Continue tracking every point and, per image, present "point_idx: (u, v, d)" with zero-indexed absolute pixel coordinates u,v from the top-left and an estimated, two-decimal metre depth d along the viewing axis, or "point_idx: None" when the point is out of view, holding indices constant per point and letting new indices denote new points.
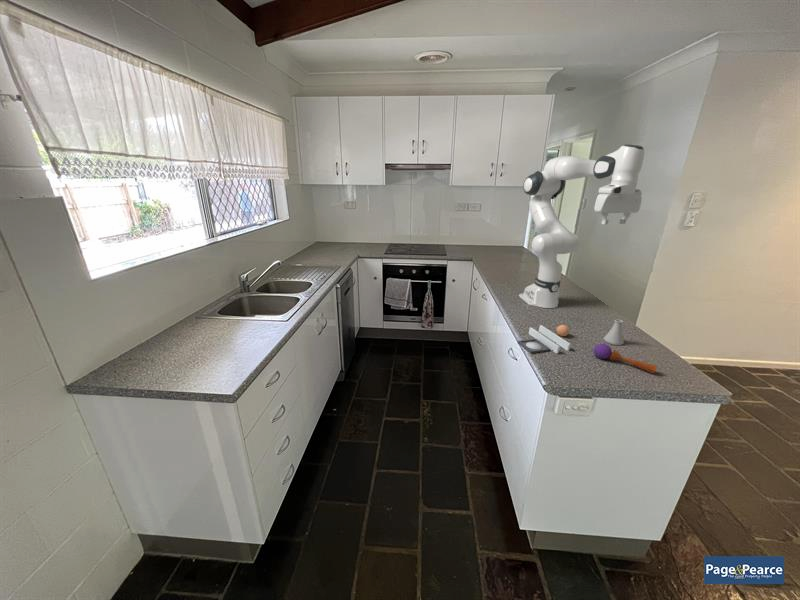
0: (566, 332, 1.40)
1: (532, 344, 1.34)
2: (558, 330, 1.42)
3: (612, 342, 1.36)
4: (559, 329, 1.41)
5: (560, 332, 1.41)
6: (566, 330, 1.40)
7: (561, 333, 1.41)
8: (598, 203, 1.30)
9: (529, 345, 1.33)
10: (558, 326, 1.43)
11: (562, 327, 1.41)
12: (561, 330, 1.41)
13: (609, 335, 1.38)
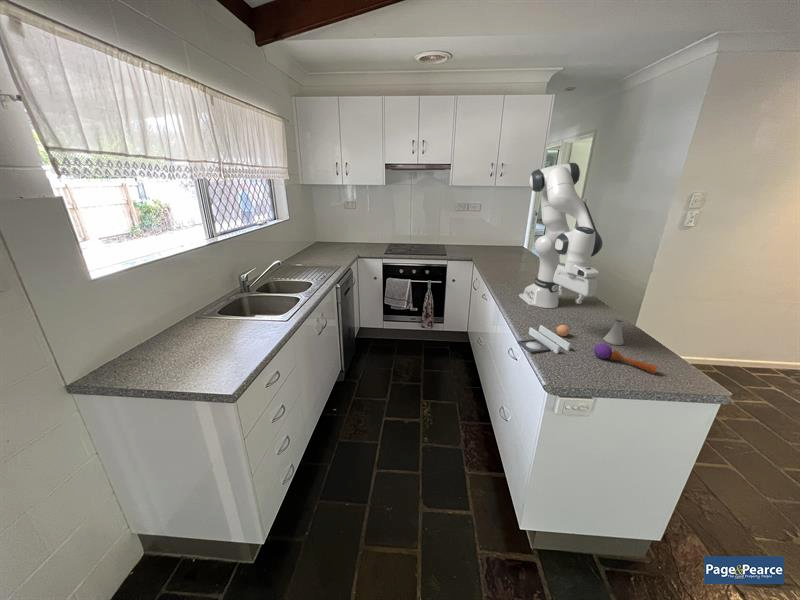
0: (566, 332, 1.40)
1: (532, 344, 1.34)
2: (558, 330, 1.42)
3: (612, 342, 1.36)
4: (559, 329, 1.41)
5: (560, 332, 1.41)
6: (566, 330, 1.40)
7: (561, 333, 1.41)
8: (591, 288, 1.25)
9: (529, 345, 1.33)
10: (558, 326, 1.43)
11: (562, 327, 1.41)
12: (561, 330, 1.41)
13: (609, 335, 1.38)
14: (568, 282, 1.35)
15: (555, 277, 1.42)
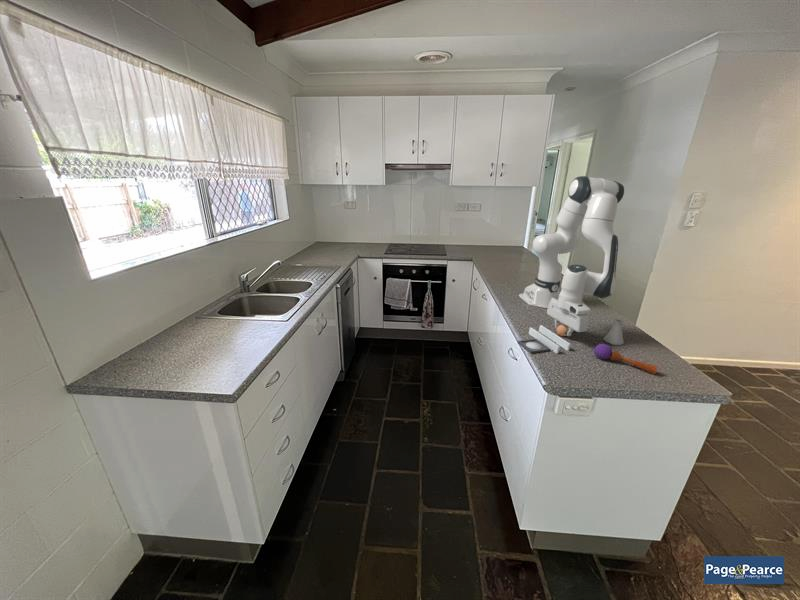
0: None
1: (532, 344, 1.34)
2: (558, 330, 1.42)
3: (612, 342, 1.36)
4: (559, 329, 1.41)
5: (560, 332, 1.41)
6: (566, 330, 1.40)
7: (561, 333, 1.41)
8: (583, 325, 1.31)
9: (529, 345, 1.33)
10: (558, 326, 1.43)
11: (562, 327, 1.41)
12: (561, 330, 1.41)
13: (609, 335, 1.38)
14: (561, 316, 1.40)
15: (549, 309, 1.47)
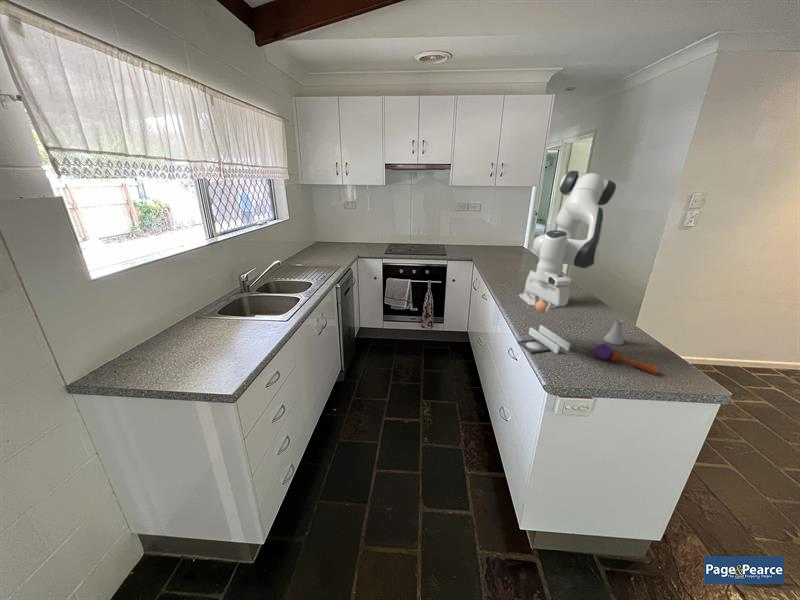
0: None
1: (532, 344, 1.34)
2: (537, 306, 1.26)
3: (612, 342, 1.36)
4: (538, 305, 1.25)
5: (539, 308, 1.25)
6: (546, 306, 1.24)
7: (540, 309, 1.25)
8: (563, 298, 1.15)
9: (529, 345, 1.33)
10: (537, 302, 1.27)
11: (541, 302, 1.25)
12: (540, 306, 1.25)
13: (609, 335, 1.38)
14: (540, 290, 1.25)
15: (527, 284, 1.31)
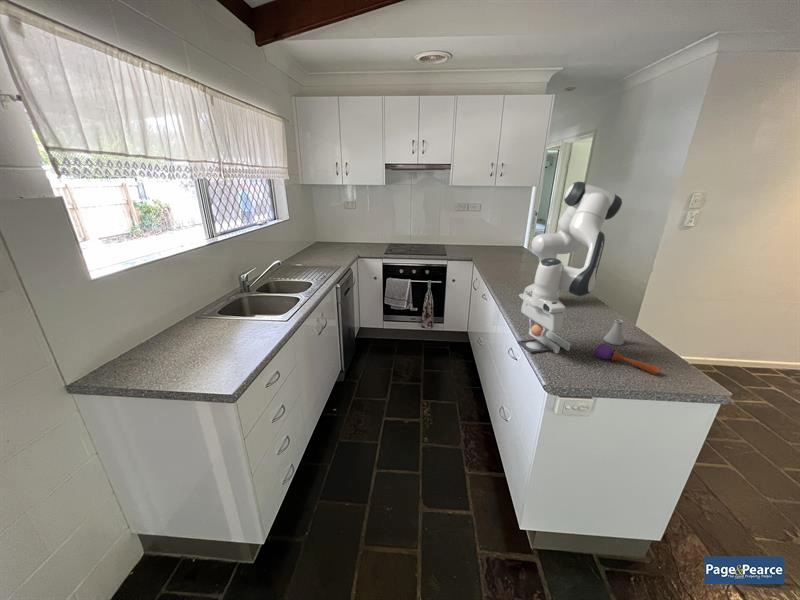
0: None
1: (532, 344, 1.34)
2: (532, 330, 1.29)
3: (612, 342, 1.36)
4: (533, 329, 1.29)
5: (534, 332, 1.29)
6: (541, 330, 1.28)
7: (535, 333, 1.29)
8: (557, 324, 1.19)
9: (529, 345, 1.33)
10: (532, 326, 1.31)
11: (536, 327, 1.29)
12: (535, 330, 1.28)
13: (609, 335, 1.38)
14: (535, 315, 1.28)
15: (523, 307, 1.35)
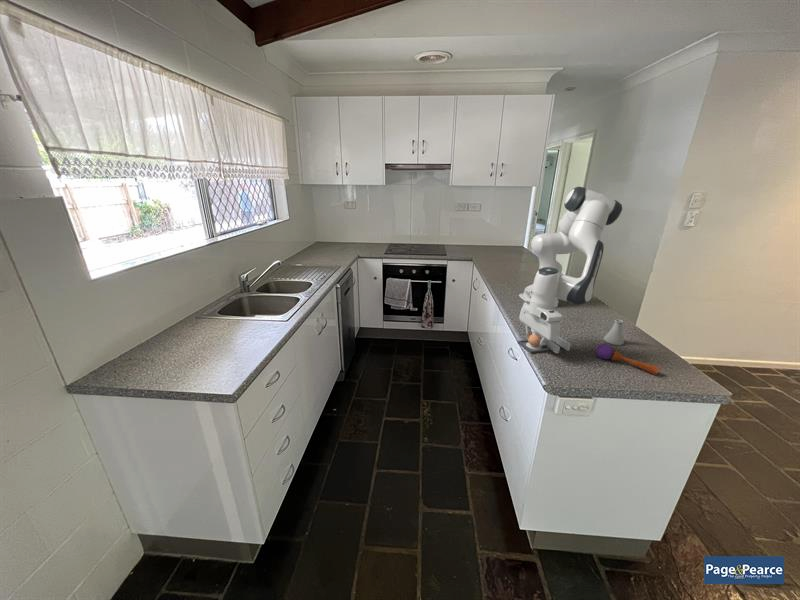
0: (538, 342, 1.30)
1: None
2: (529, 340, 1.31)
3: (612, 342, 1.36)
4: (530, 339, 1.31)
5: (531, 342, 1.31)
6: (538, 340, 1.30)
7: (533, 343, 1.31)
8: (554, 333, 1.20)
9: (529, 345, 1.33)
10: (530, 335, 1.32)
11: (534, 337, 1.31)
12: (533, 340, 1.30)
13: (609, 335, 1.38)
14: (533, 323, 1.30)
15: (521, 315, 1.37)
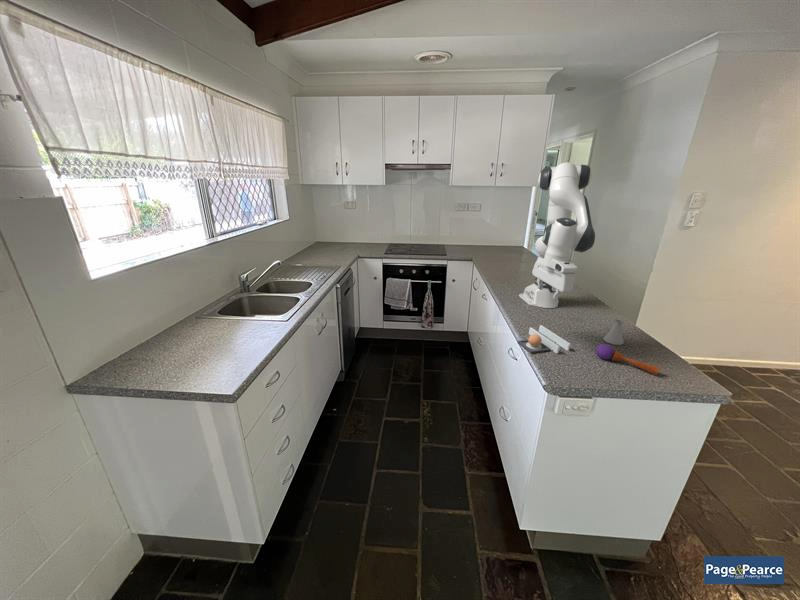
0: (538, 343, 1.30)
1: None
2: (530, 340, 1.31)
3: (612, 342, 1.36)
4: (531, 339, 1.31)
5: (532, 342, 1.31)
6: (538, 340, 1.30)
7: (533, 343, 1.31)
8: (568, 284, 1.20)
9: (529, 345, 1.33)
10: (530, 336, 1.32)
11: (534, 337, 1.30)
12: (533, 340, 1.30)
13: (609, 335, 1.38)
14: (546, 276, 1.29)
15: (534, 269, 1.36)
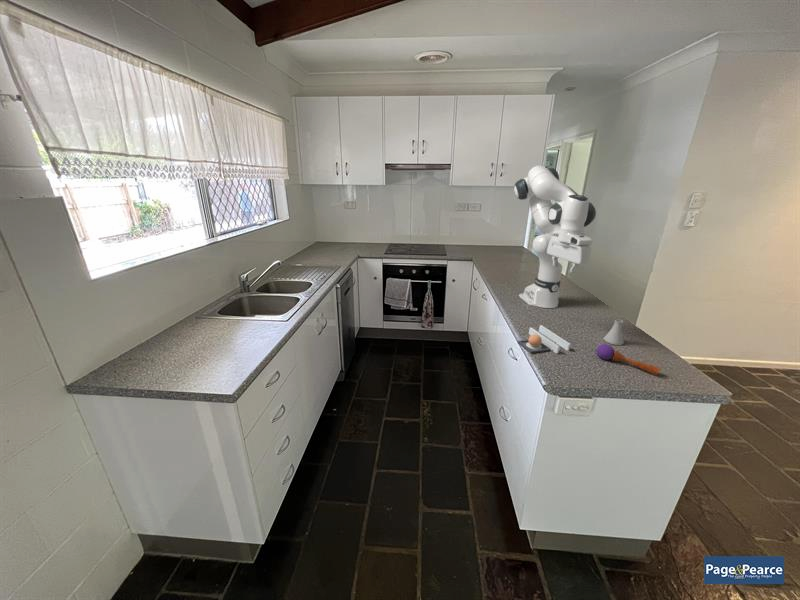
0: (538, 343, 1.30)
1: None
2: (530, 340, 1.31)
3: (612, 342, 1.36)
4: (531, 339, 1.31)
5: (532, 343, 1.31)
6: (538, 341, 1.30)
7: (533, 344, 1.31)
8: (584, 256, 1.25)
9: (529, 345, 1.33)
10: (530, 336, 1.32)
11: (534, 337, 1.30)
12: (533, 340, 1.30)
13: (609, 335, 1.38)
14: (561, 252, 1.35)
15: (549, 248, 1.41)
